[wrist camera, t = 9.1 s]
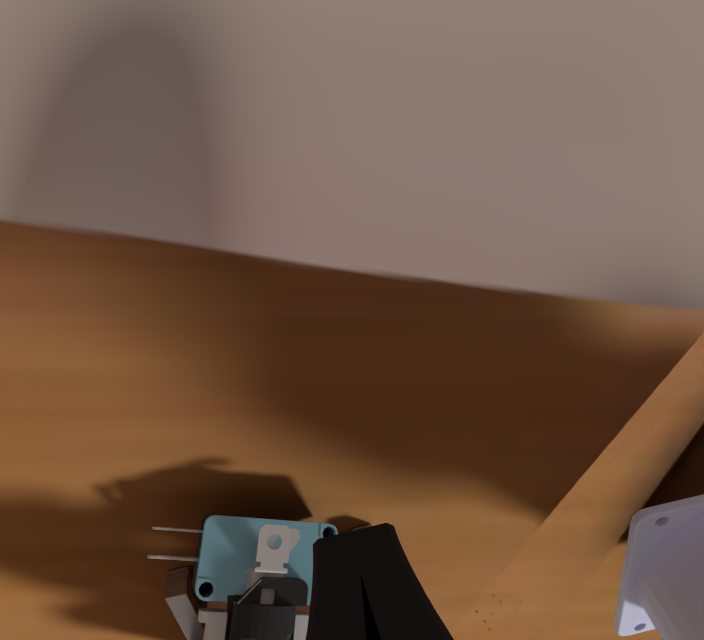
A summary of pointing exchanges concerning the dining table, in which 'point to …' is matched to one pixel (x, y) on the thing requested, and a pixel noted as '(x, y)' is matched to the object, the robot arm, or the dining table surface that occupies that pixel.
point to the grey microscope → (253, 575)
